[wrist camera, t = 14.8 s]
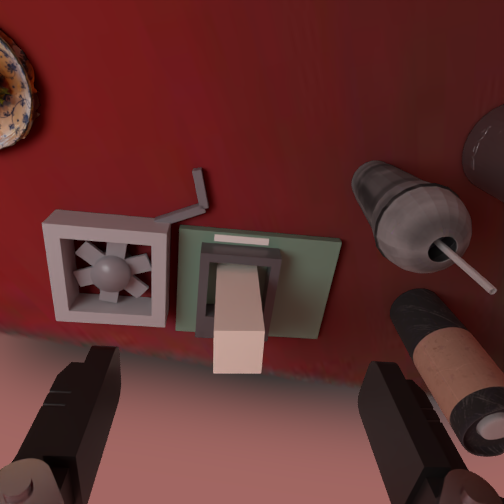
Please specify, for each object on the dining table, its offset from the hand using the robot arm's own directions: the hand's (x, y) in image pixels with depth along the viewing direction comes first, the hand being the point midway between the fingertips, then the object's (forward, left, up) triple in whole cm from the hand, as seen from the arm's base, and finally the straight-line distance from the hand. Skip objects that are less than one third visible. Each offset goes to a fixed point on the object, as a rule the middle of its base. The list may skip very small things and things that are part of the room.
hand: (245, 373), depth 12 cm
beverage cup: (-15, +2, -30) cm, 34 cm away
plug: (-2, +15, -29) cm, 33 cm away
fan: (+10, +11, -30) cm, 34 cm away
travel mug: (-25, +18, -30) cm, 43 cm away
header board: (-4, +16, -30) cm, 34 cm away
